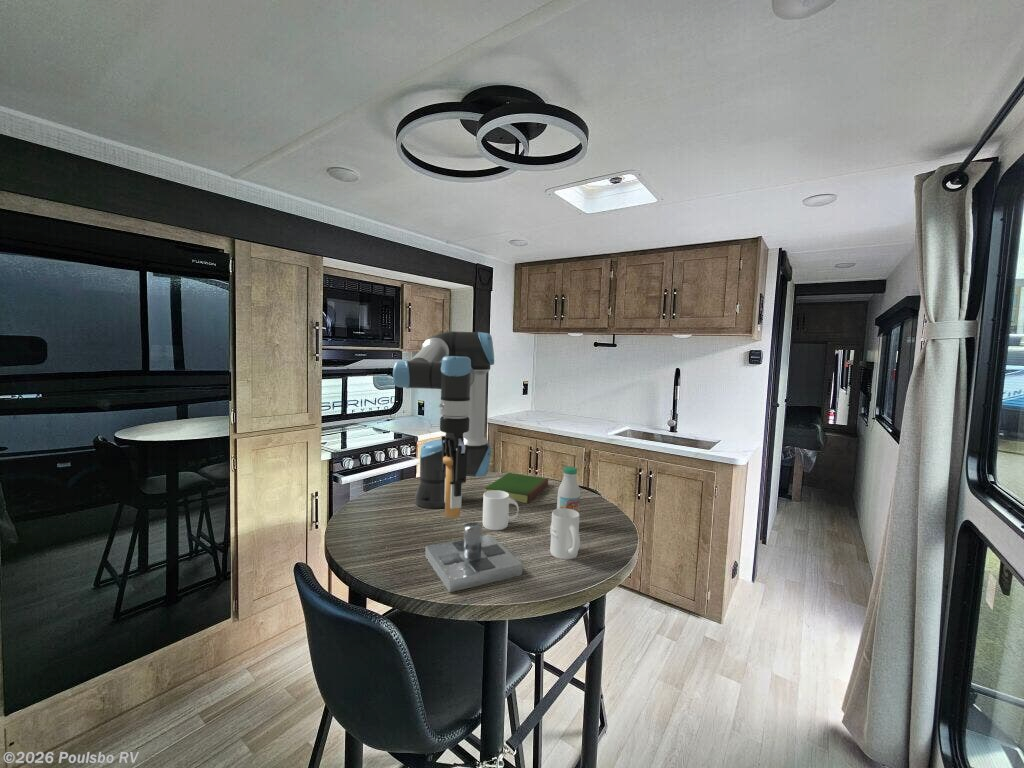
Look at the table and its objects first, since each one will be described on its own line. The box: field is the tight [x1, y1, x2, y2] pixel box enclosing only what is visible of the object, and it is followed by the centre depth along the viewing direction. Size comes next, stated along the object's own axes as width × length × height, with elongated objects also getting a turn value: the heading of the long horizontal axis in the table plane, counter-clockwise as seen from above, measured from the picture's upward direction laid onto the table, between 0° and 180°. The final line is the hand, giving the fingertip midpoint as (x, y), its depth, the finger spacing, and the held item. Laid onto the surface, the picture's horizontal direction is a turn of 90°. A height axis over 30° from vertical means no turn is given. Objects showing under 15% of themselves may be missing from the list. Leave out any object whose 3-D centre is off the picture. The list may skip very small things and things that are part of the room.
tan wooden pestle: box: [443, 456, 461, 519], centre depth 114 cm, size 6×6×15 cm
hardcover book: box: [484, 472, 549, 504], centre depth 182 cm, size 25×19×4 cm
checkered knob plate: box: [424, 522, 523, 593], centre depth 118 cm, size 20×20×11 cm
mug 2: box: [549, 508, 581, 560], centre depth 125 cm, size 8×12×12 cm
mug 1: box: [482, 490, 520, 531], centre depth 145 cm, size 9×12×11 cm
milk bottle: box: [556, 465, 581, 519], centre depth 147 cm, size 8×8×20 cm
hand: (452, 504), depth 114 cm, fingers closed on tan wooden pestle, 4 cm apart
